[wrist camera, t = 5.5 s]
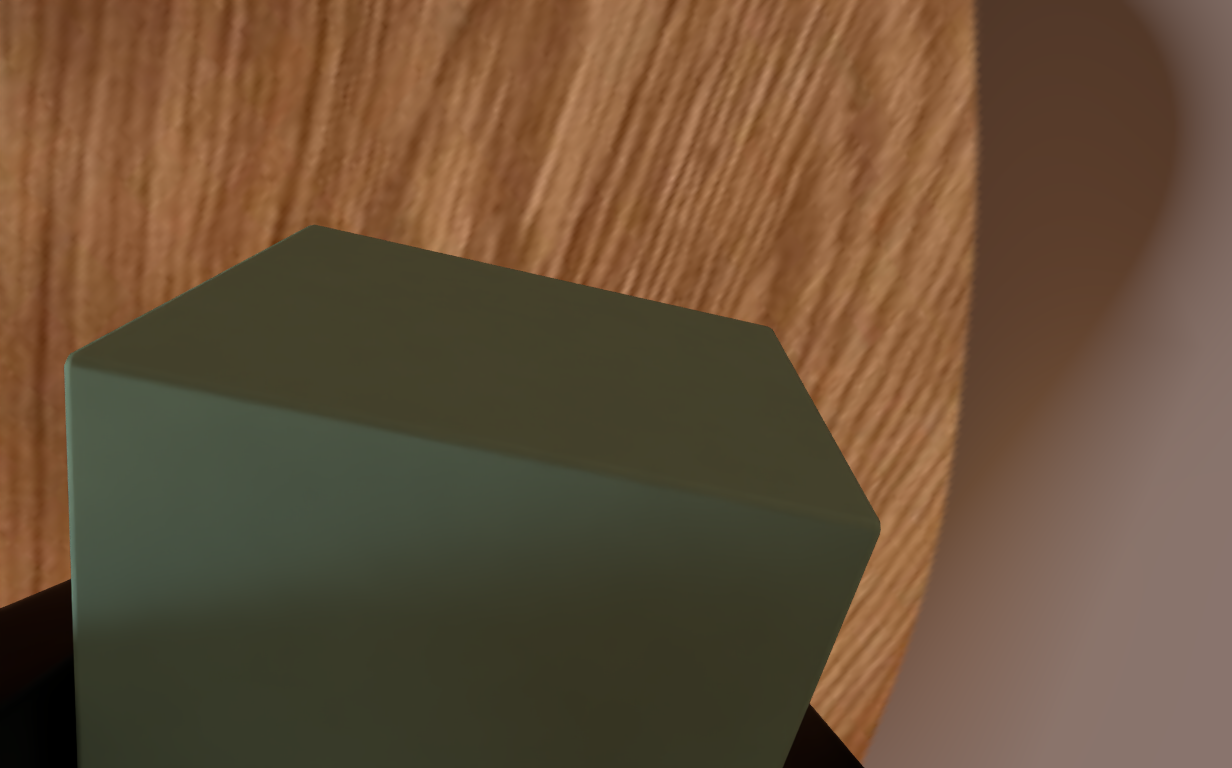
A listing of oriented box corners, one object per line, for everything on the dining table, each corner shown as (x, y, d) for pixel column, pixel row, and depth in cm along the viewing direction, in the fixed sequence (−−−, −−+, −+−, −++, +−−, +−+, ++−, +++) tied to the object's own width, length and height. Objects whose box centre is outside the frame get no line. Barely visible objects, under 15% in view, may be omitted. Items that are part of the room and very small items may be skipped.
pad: (774, 326, 9) (888, 525, 5) (626, 788, 11) (627, 1147, 8) (310, 222, 8) (57, 354, 5) (267, 726, 11) (82, 1071, 7)
